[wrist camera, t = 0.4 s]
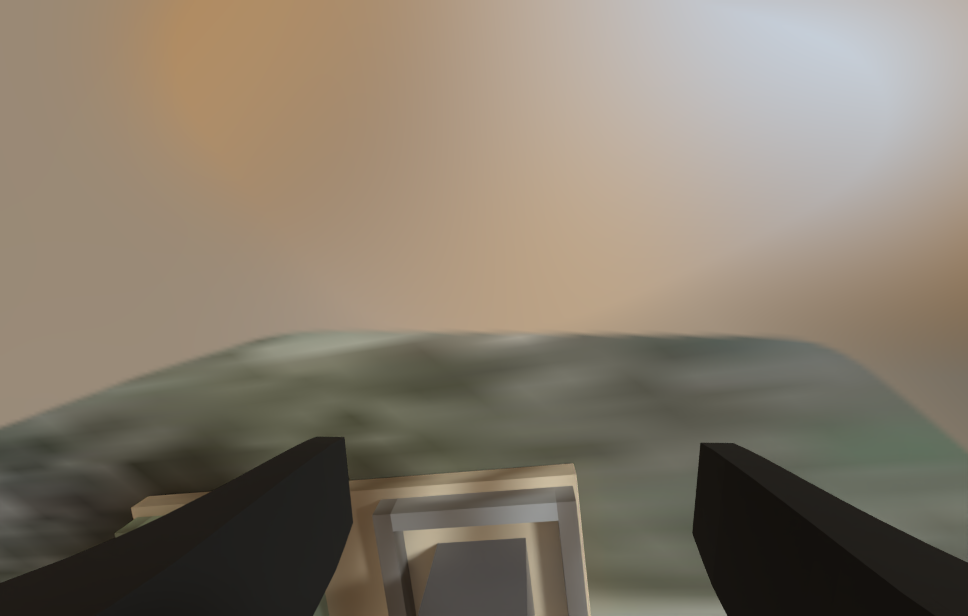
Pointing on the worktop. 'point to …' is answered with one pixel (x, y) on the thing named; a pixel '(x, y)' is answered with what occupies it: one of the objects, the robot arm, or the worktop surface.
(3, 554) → the worktop surface
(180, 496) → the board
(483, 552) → the plug
